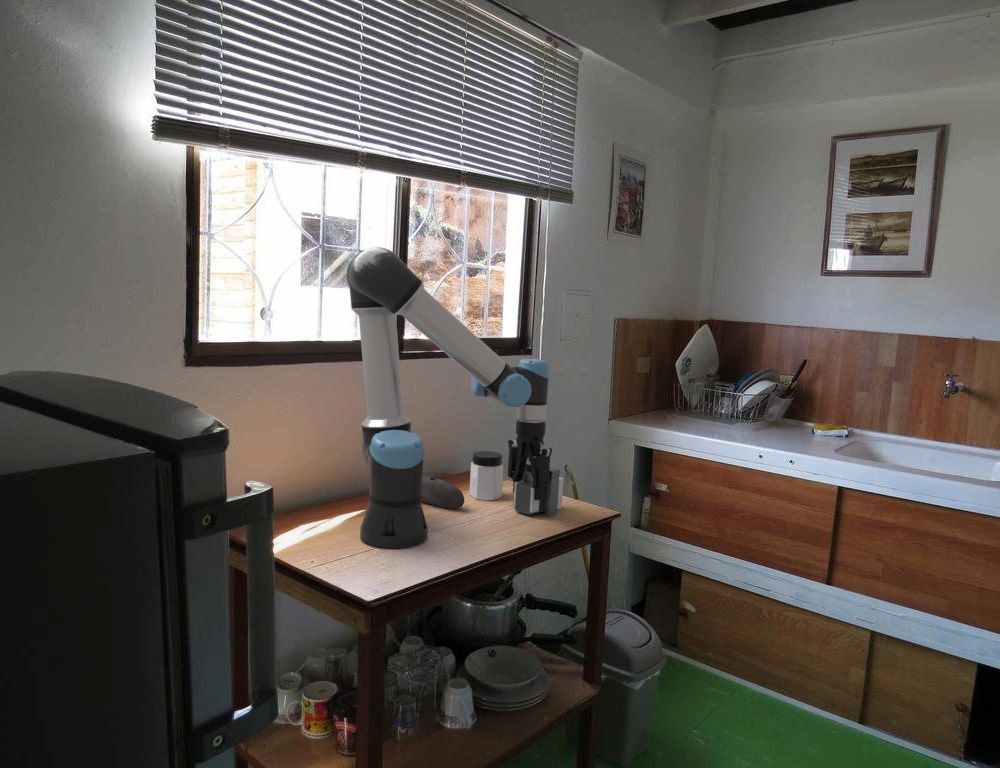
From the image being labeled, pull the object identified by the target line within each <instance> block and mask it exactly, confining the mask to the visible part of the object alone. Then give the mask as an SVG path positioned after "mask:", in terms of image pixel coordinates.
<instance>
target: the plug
mask: <svg viewBox="0 0 1000 768" xmlns="http://www.w3.org/2000/svg"><path fill="white" fill-rule="evenodd" d="M531 486H533V480H532V481H528V482H523V483H518V484H516V500H515V507H514V511H516V512H519V513H523V514H525V515H527V516H530V515H535V514H539V513H542V512H545V504H546V489H547V486H544V487H542V494H541V500H539V511H537V512H533V513H530V512H529V510H530V493H531ZM563 492H564V478H563V477H560V476H559V491H558V506H557V510H558V509H561V508H562V507H563Z"/></svg>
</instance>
